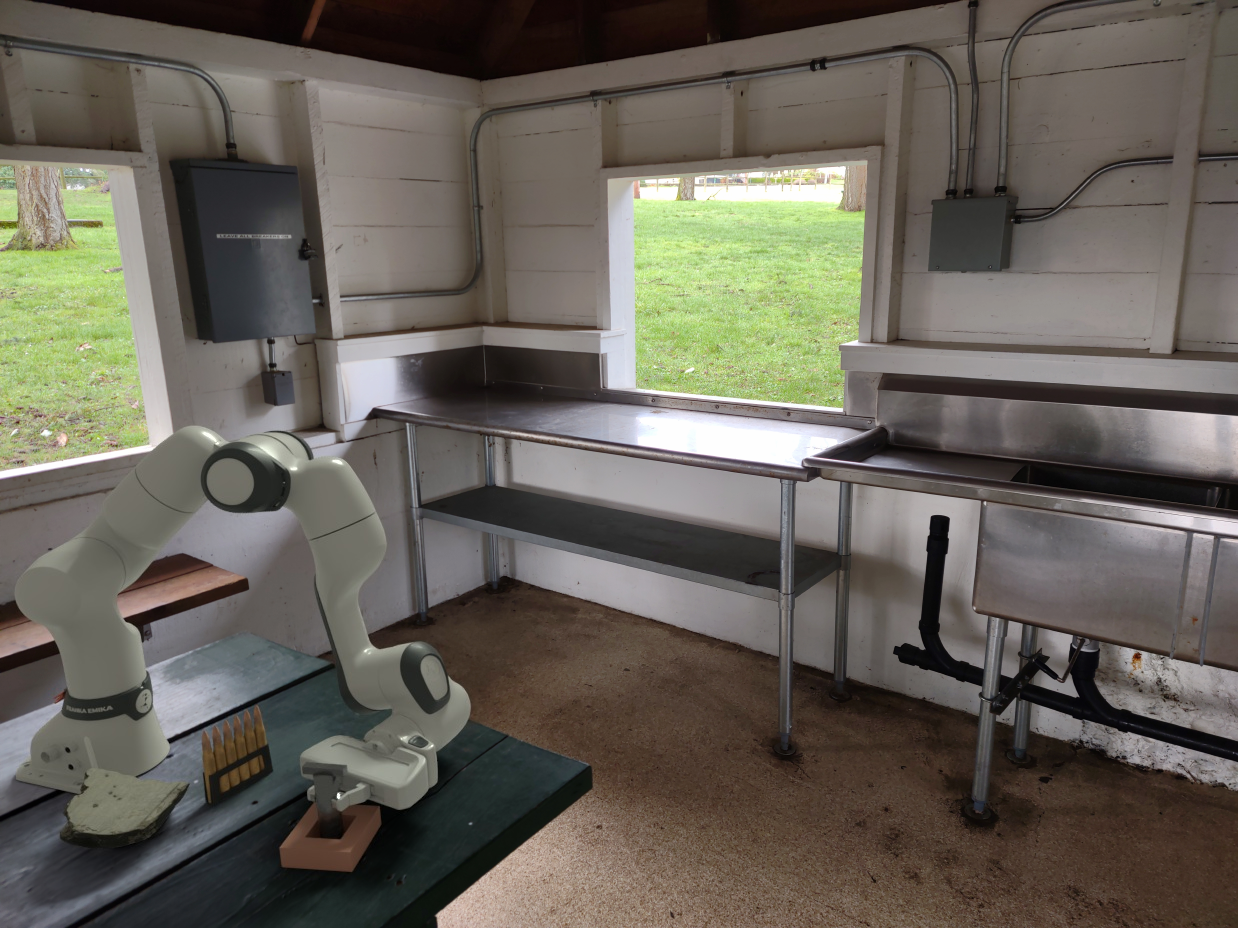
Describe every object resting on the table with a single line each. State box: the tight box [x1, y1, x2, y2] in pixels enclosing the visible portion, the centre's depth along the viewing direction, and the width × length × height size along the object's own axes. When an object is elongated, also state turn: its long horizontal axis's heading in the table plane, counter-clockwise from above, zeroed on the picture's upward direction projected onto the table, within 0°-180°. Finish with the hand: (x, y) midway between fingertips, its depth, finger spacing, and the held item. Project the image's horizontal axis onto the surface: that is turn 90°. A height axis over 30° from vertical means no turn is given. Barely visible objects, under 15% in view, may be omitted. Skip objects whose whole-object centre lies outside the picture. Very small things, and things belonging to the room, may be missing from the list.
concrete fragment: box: [59, 768, 191, 850], centre depth 122 cm, size 15×10×15 cm
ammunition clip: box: [201, 704, 274, 807], centre depth 132 cm, size 11×2×12 cm, turn 148°
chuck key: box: [302, 762, 348, 840], centre depth 118 cm, size 6×3×11 cm, turn 81°
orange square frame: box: [278, 802, 382, 873], centre depth 119 cm, size 10×10×3 cm
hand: (323, 801), depth 117 cm, fingers closed on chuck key, 3 cm apart
